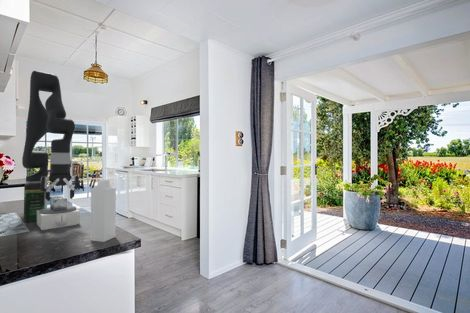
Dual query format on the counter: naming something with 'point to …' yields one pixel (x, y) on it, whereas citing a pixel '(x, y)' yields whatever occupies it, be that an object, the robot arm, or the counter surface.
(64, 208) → the cylinder
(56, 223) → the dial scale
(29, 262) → the counter surface
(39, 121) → the robot arm
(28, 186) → the coffee jar
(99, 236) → the milk
